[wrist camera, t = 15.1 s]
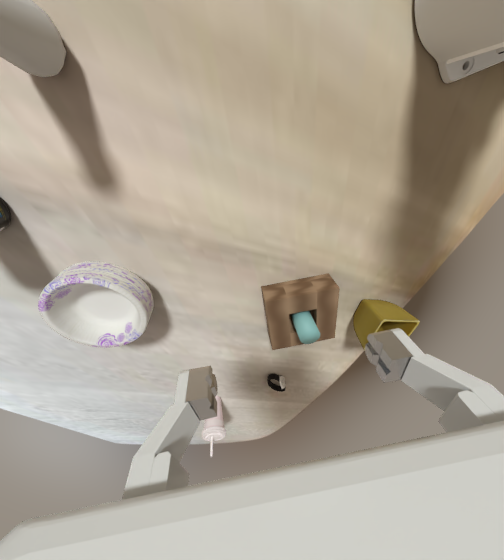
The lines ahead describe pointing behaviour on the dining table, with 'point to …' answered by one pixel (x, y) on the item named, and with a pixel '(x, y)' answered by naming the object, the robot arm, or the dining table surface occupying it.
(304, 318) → the dowel
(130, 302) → the paper bowls
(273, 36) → the dining table surface
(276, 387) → the watch
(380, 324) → the flower pot
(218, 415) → the smoothie
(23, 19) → the salt shaker
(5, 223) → the supplement container
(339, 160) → the dining table surface
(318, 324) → the bore block
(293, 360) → the dining table surface
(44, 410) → the dining table surface
